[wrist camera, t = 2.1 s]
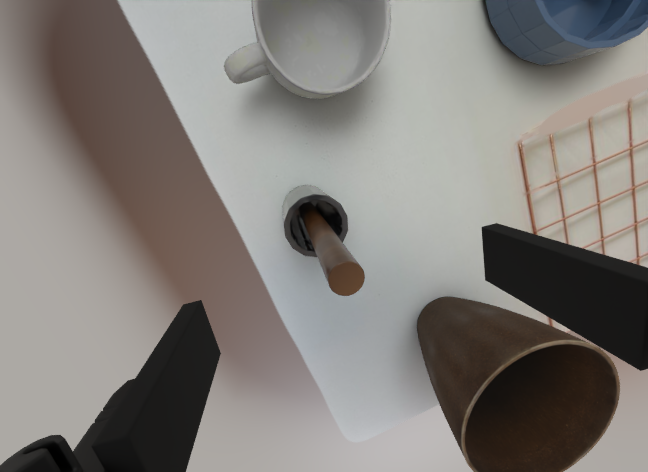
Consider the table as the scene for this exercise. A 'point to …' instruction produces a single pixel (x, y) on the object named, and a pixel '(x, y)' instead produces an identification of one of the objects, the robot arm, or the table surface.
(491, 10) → the bowl
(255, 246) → the table surface
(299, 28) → the teacup
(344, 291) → the stir stick
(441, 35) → the table surface
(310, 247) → the stick holder
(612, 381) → the flower pot
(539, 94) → the table surface
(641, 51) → the table surface
